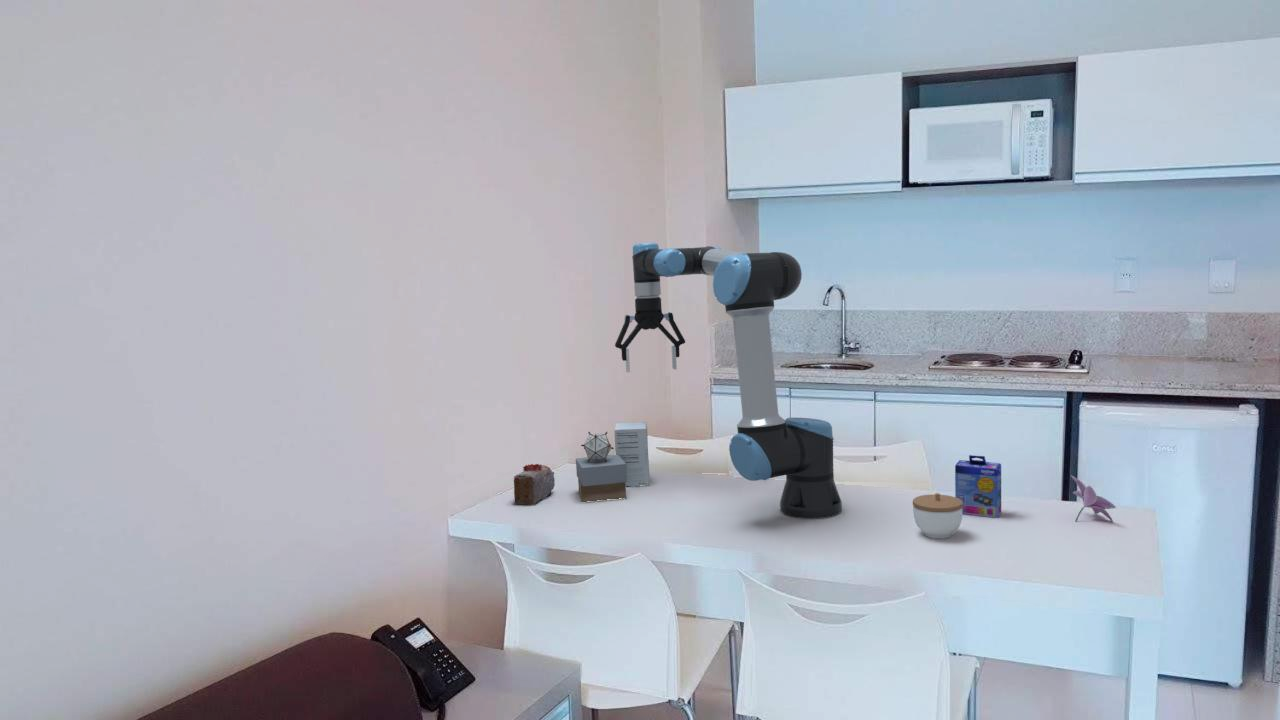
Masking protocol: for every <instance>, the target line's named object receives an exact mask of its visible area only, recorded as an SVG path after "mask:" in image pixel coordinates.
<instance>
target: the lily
mask: <svg viewBox="0 0 1280 720" xmlns="http://www.w3.org/2000/svg"><path fill="white" fill-rule="evenodd" d="M1070 477H1071V478H1072V480H1073V481H1074V482H1075V483H1076V485H1077V487H1078V488H1079V491H1078V490H1076V491H1075V490H1074V491H1073V492H1072V493H1073V495H1075V496H1077V497H1079V498H1080V499H1081V500H1082V502H1083V503H1082V504H1083V506H1082V507H1081V509H1080V511H1079V512H1078V514H1077V516H1076V518H1075V522H1077V521H1078V519H1079V517H1080V515H1081V514H1082V512H1083V510H1084V509H1085V508H1089V509H1091V510H1092V511H1093V513H1094V514H1096V515H1097V514H1099V513H1101V514H1103V515H1104V516H1105V517H1106V518H1107V519H1109V520H1110V521H1111V522H1114V521H1113V518H1112V517H1111V515H1110V514H1109V512H1108V511H1107V510H1109V509H1110V510H1111V509H1116V508H1117V507H1116V505H1114V504H1113V502H1111V501H1109V500H1108V499H1106V498H1105V497H1102V496H1099V495H1097V493H1096V492H1095V489H1093V487H1092V486H1091V485H1088V486H1086V484H1084V483H1083V482H1082V481H1081V480H1080V479H1079V478H1077V477H1075V476H1073V475H1071V474H1070Z"/></svg>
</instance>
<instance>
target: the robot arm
mask: <svg viewBox="0 0 1280 720" xmlns="http://www.w3.org/2000/svg"><path fill="white" fill-rule="evenodd" d="M659 247H660V246H659V244H658V243H657V242H645V243H644V242H641V243H635V244H633V246H632V257H631V258H632V266H633V268H632V269H633V283H634V285H633V286H634V287H633V288H634V296H635V297H636V298H635V299H634V307H635V313H634V315H629V314H625V315H624V321H623V325H622V327H621V329H620V332H619V335H618V336H617V339H616V341H615V343H614V347H615V348H617V349H620V350H621V359H622V361H623V362H624V361H625V371H626V373H631V367H630V366H631V365H630V364H631V363H630V349H628V347H629V345H630V344H631V343H632V341H633V340H634V338H636V336H637V335H638V333H639V332H640V331H641V330H645V331H649V330H657V329H659V330H660V331H661V332H662V333H663V335H664V336H666V338H667V339H668V340H669V341H670V342H671V343H672V344H673V345H671V363H672V364H671V367H672V369H673V370H677V358H679V357H680V346H681V345H684V344H686V339H685V338H684V336H683V335H682V333H681V330H680V329H679V327H678V325H677V323H676V322H675V319H674V314H673V312H670V311H668V312H667V313H666V312H665V313H663V312H662V310H663V309H662V298H661V297H660V296H661V294H662V290H661V289H662V288H661V277H665V278H670V277H676V276H688V275H689V276H690V275H705V276H713V278H712V279H713V281H712V288H713V289H712V290H713V294H714V296H715V298H716V301H717V302H718V303H720V304H722V305H723V306H724V307H725V313H726V314H727V315H728V316H729V317H730V318H731V319H732V322H733V334H734V343H735V352H736V353H735V354H736V361H737V362H736V363H737V364H736V365H737V372H738V383H739V384H738V385H739V394H740V404H741V405H740V406H741V414H742V418H741V420H740V421H739V422H738V423H737V425H736V427H737V428H736V429H737V433H736V434H734V435H733V436H732V437H731V439H730V443H729V450H728V451H729V456H730V461H731V463H732V465H733V467H734V469H735V471H737V472H738V475H740V476H741V477H743V478H744V479H745V480H747V481H753V482H754V481H755V482H756V481H767V480H769V479H773V478H777V477H782V476H783V477H784V476H786V479H785V484H784V486H783V489H782V493H781V498H780V501H779V510H780V512H781V513H782V514H784V515H786V516H789V517H793V518H800V519H823V518H830V517H833V516H836V515H839V514H840V513H841V512H842V510H843V508H842V507H843V506H842V499H841V497H840V494H839V491H838V488H837V486H836V483H835V477H834V476H835V475H834V474H835V473H834V440H835V439H834V437H833V426H832V425H831V423H830V422H828V421H826V420H822V419H817V418H809V417H787V418H785V419H784V418H783V417H781V415H780V414H779V407H778V396H777V387H776V377H775V376H776V375H775V367H774V366H775V365H774V357H773V356H774V355H773V346H772V334H771V327H770V314H771V312H772V311H773V310H774V309H775V301H778V300H782V299H785V298H788V297H790V296H791V295H793V294H794V293H795V292H796V291H797V289H798V288H799V287H800V284H801V281H802V275H803V273H802V268H801V264H800V263H799V262H798V260H797V259H796V258H795V257H794V256H792V255H790V254H788V253H786V252H783V251H782V252H780V251H772V252H750V253H749V252H741V251H735V250H727V249H721V248H720V247H718V246H713V245H712V246H710V245H709V246H708V245H707V246H700V247H699V246H698V247H680V248H671V247H670V248H659ZM664 319H665V320H666V321H668V323H669V325H670V326H671V328H672V331H674V334H675V335H676V337H677V339H678V340H677V339H676V338H675V337H674V336H673V335H672V333H670V332H669V331H668V329H666V327H664V325H663V324H662V322H663V320H664ZM633 321H635V322H636V323H637V324H636V325H635V326H634V329H632V332H631V331H630V334H629V335H628V337H626V339H625V341H624V342H623V340H624V338H625V335H626V333H627V331H628V328H629V326H630V324H631V323H632V322H633ZM622 342H623V343H622Z"/></svg>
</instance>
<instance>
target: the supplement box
mask: <svg viewBox="0 0 1280 720" xmlns="http://www.w3.org/2000/svg"><path fill="white" fill-rule="evenodd" d="M613 432H614V448H615V455H617V454H618V455H619V456H620V457H621V459H622V460H623V461H624V462H625V463H626V472H627V482H625V485H626V486H633V487H641V486H640V485H649V486H650V463H649V462H650V460H649V446H648V445H649V442H648V435H649V434H648V423H647V421H646V422H645V421H643V422H642V421H639V422H637V421H636V422H619V423H615V427H614V431H613Z"/></svg>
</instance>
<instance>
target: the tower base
mask: <svg viewBox="0 0 1280 720" xmlns="http://www.w3.org/2000/svg"><path fill="white" fill-rule="evenodd" d="M577 481H578V494H579V493H580V494H579V497H580V501H581V503H582V502H586V503H588V502H587V501H597V500H607V499H619V498H626V499H627V490H626V489H627V487H626V485H625V482H622V483H612V484H602V485H592V486H583V485H582V484H581V482H580V480H579V479H578V478H577Z"/></svg>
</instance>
